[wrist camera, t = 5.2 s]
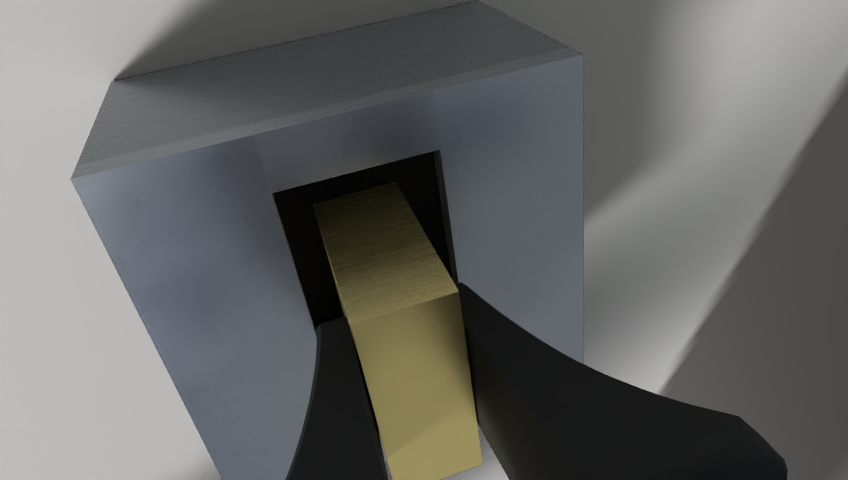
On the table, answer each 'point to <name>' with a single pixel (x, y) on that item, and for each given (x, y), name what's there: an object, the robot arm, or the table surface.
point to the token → (403, 332)
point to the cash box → (322, 159)
